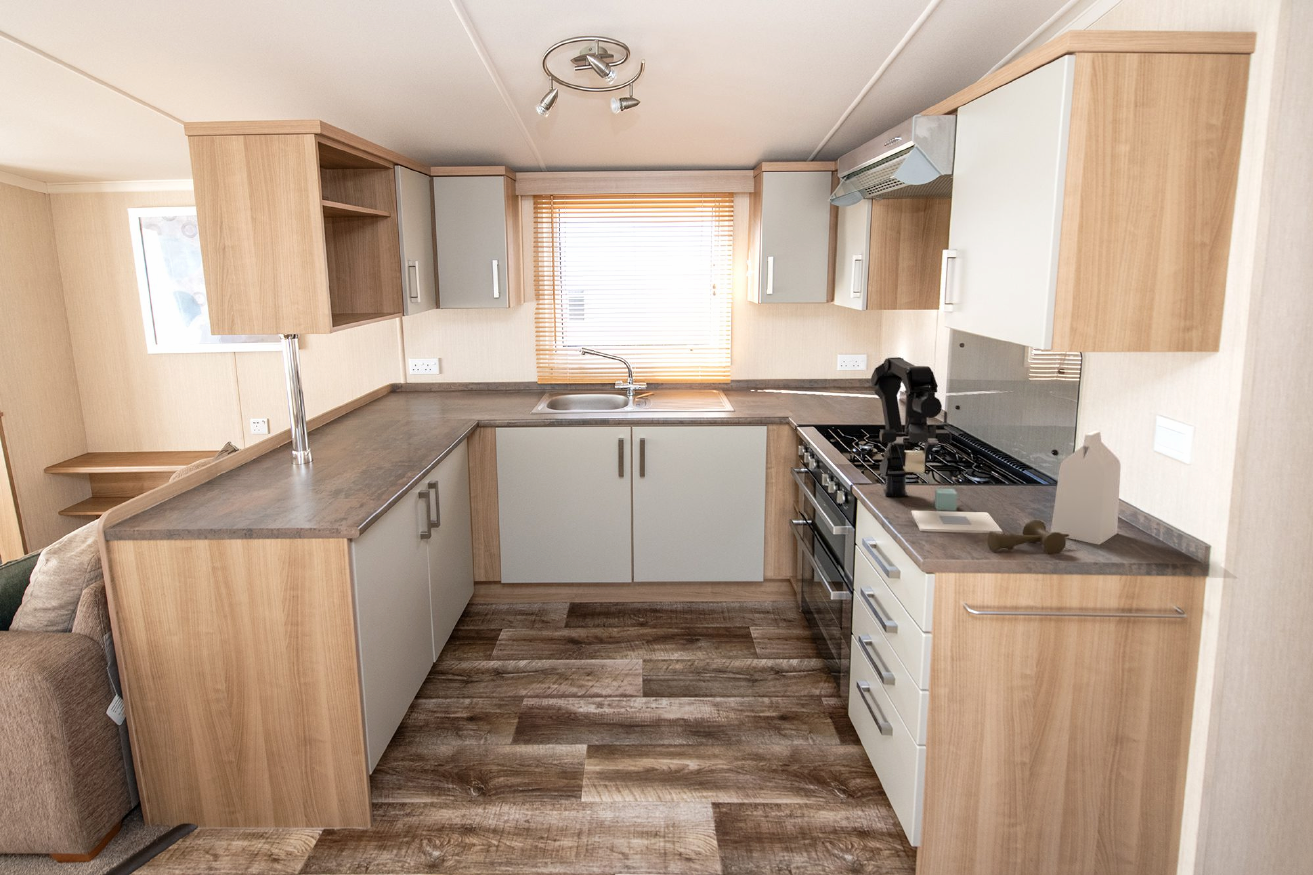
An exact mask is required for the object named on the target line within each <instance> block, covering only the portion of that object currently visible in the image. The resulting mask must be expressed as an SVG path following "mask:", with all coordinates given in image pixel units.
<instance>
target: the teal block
mask: <svg viewBox="0 0 1313 875" xmlns="http://www.w3.org/2000/svg"><path fill="white" fill-rule="evenodd" d="M934 492H935V493H934V506H935V508H936V511H948V512H957V504H958V493H957V492H956V490H955V488H935V489H934Z"/></svg>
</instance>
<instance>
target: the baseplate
mask: <svg viewBox="0 0 1313 875" xmlns="http://www.w3.org/2000/svg"><path fill="white" fill-rule="evenodd" d="M911 515H912V517H913V520H914V521H915V524H916V525H917V527H918V529H919V531H920V532H935V533H936V532H938V533H939V532H940V533H969V534H972V533H973V534H988V533H989V532H991V531H993V532H996V533H998V534H1003V530H1002V529H1001V527H999V525H998V523H996V521H995V520H994V519H993V517H992V516H991V515H990V514H989V512H982V511H981V512H978V511H977V512H976V511H948V510H932V511H931V510H911Z"/></svg>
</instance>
